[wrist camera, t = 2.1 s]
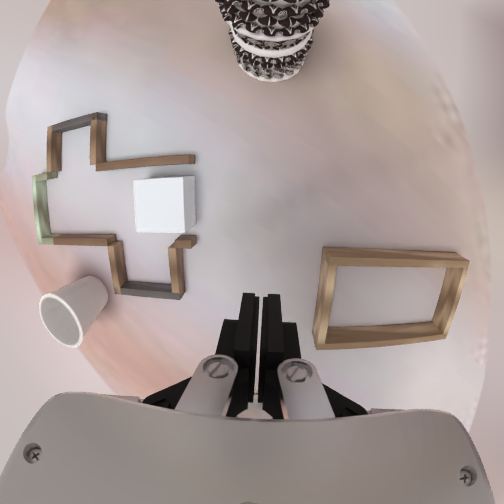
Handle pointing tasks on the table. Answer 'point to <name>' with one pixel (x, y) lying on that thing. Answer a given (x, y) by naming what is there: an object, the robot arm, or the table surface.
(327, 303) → the rectangular wooden frame
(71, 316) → the dixie cup
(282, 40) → the white patterned cylinder
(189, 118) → the table surface
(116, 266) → the zigzag wooden frame
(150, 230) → the block
